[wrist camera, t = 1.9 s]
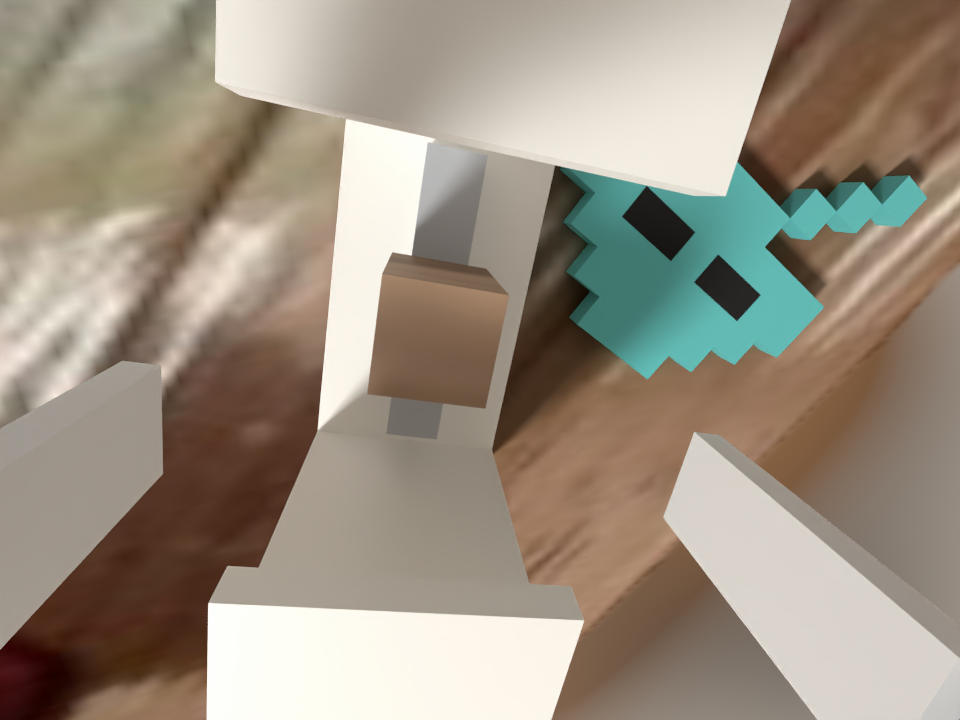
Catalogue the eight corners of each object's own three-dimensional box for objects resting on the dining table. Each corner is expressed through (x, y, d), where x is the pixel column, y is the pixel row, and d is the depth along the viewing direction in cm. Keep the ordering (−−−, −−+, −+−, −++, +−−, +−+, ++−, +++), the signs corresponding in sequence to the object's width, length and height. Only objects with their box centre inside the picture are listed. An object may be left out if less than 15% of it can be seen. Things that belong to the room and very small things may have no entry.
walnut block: (392, 252, 24) (382, 273, 18) (486, 268, 25) (509, 295, 19) (380, 343, 26) (366, 394, 19) (469, 355, 27) (485, 408, 20)
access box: (355, 54, 26) (219, -235, 8) (564, 105, 28) (804, -41, 10) (318, 443, 33) (206, 720, 16) (486, 460, 35) (550, 722, 18)
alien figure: (707, -31, 27) (491, 256, 31) (732, -50, 25) (497, 261, 28) (894, 197, 33) (693, 414, 36) (927, 198, 31) (710, 428, 34)
